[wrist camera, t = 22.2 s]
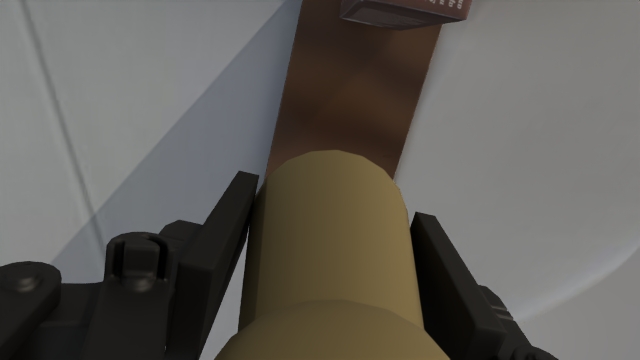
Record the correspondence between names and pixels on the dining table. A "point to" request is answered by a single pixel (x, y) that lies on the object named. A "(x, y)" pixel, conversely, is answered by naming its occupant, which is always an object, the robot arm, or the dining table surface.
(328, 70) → the strip
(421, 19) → the box
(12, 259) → the dining table surface
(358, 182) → the wooden peg doll
